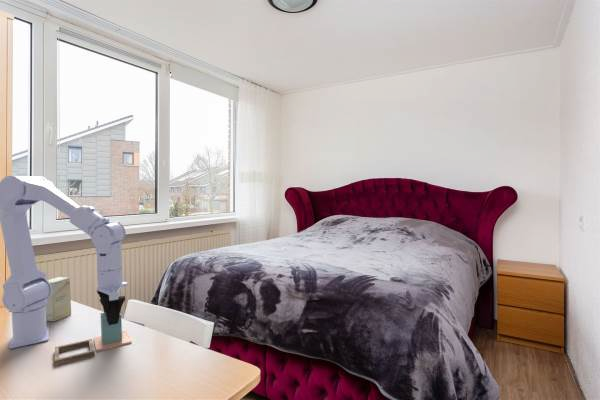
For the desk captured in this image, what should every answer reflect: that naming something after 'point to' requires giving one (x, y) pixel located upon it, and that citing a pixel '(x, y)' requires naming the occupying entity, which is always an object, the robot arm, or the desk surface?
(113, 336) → the teal block
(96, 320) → the desk surface
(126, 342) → the terracotta tile
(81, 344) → the pocket frame
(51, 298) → the skincare box
